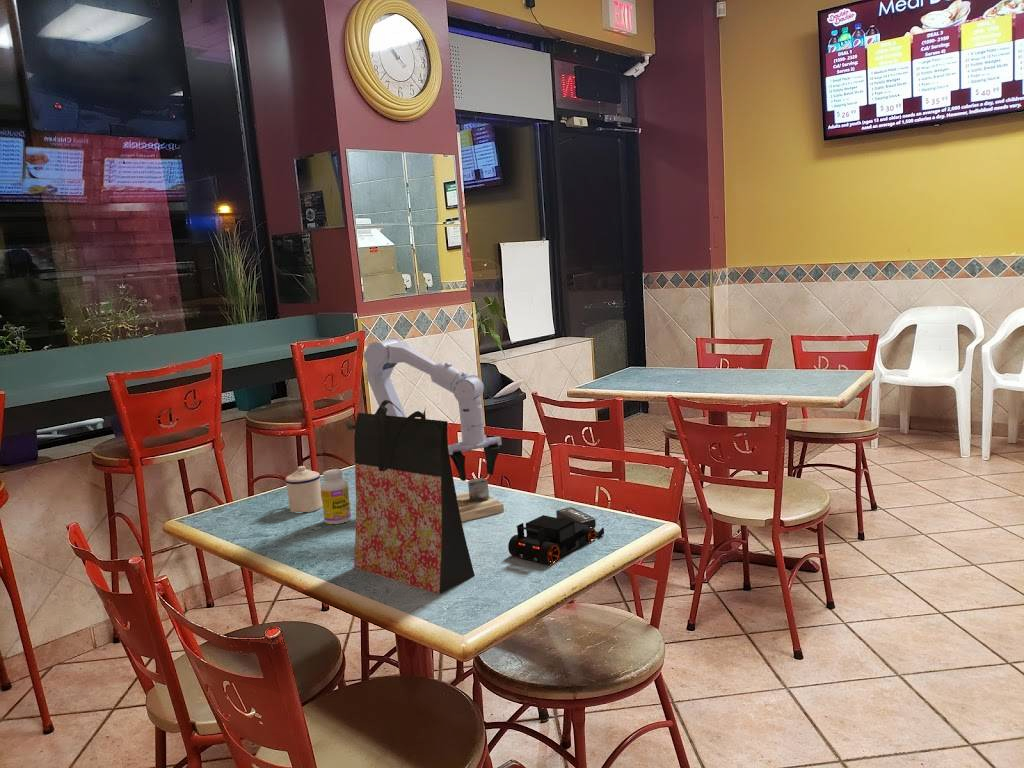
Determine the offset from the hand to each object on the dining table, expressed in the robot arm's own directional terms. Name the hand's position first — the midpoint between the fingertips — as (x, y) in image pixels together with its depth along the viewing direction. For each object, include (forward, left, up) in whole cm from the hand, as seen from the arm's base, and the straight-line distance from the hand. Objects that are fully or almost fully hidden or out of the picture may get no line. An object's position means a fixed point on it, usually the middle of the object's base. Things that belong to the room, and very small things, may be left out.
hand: (476, 477), depth 193 cm
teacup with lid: (-32, -38, -8) cm, 50 cm away
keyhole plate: (0, -4, -8) cm, 9 cm away
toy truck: (+37, +2, -8) cm, 38 cm away
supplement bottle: (-14, -33, -8) cm, 37 cm away
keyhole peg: (0, 0, -8) cm, 8 cm away
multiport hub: (+26, +13, -8) cm, 30 cm away
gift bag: (+28, -29, -8) cm, 41 cm away
